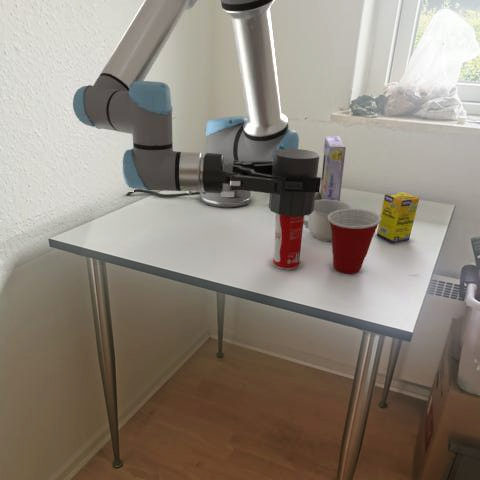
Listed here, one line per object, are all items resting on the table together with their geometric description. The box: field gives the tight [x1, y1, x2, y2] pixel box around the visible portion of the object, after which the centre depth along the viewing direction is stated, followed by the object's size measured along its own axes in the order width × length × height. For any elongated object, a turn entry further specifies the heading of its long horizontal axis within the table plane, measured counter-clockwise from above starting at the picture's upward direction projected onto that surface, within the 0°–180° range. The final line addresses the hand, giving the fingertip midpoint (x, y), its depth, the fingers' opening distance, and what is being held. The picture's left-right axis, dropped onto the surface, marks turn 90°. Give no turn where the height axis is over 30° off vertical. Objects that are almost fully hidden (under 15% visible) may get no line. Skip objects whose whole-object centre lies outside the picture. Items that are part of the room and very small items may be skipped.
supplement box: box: [376, 191, 420, 244], centre depth 117 cm, size 6×6×11 cm
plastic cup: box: [328, 208, 381, 275], centre depth 100 cm, size 11×11×12 cm
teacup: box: [303, 198, 354, 242], centre depth 117 cm, size 14×11×8 cm
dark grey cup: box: [268, 148, 320, 217], centre depth 94 cm, size 9×9×11 cm
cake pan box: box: [319, 135, 347, 201], centre depth 141 cm, size 19×5×18 cm, turn 175°
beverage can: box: [272, 213, 305, 270], centre depth 99 cm, size 6×6×15 cm
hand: (316, 178), depth 93 cm, fingers closed on dark grey cup, 9 cm apart
